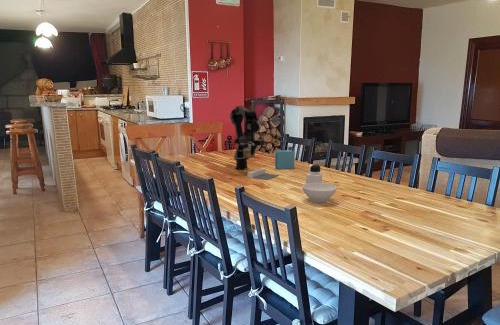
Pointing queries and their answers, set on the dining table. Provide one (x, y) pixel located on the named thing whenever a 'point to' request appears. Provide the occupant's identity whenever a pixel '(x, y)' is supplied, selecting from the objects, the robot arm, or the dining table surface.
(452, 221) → the dining table surface
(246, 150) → the block
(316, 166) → the medicine bottle
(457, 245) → the dining table surface
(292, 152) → the data package
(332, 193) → the bowl
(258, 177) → the mat
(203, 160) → the dining table surface
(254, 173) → the rail
